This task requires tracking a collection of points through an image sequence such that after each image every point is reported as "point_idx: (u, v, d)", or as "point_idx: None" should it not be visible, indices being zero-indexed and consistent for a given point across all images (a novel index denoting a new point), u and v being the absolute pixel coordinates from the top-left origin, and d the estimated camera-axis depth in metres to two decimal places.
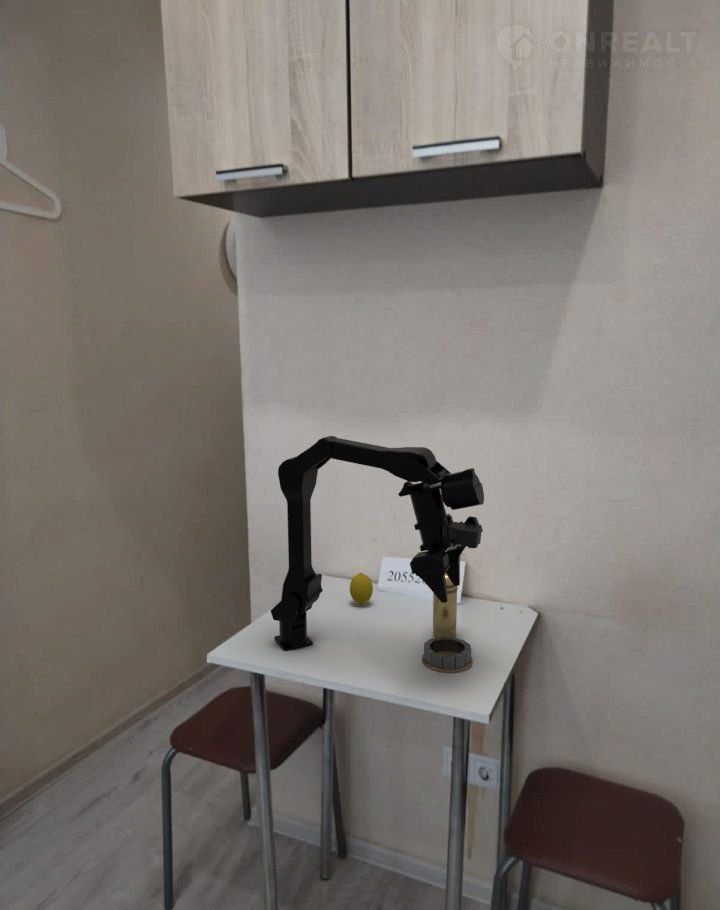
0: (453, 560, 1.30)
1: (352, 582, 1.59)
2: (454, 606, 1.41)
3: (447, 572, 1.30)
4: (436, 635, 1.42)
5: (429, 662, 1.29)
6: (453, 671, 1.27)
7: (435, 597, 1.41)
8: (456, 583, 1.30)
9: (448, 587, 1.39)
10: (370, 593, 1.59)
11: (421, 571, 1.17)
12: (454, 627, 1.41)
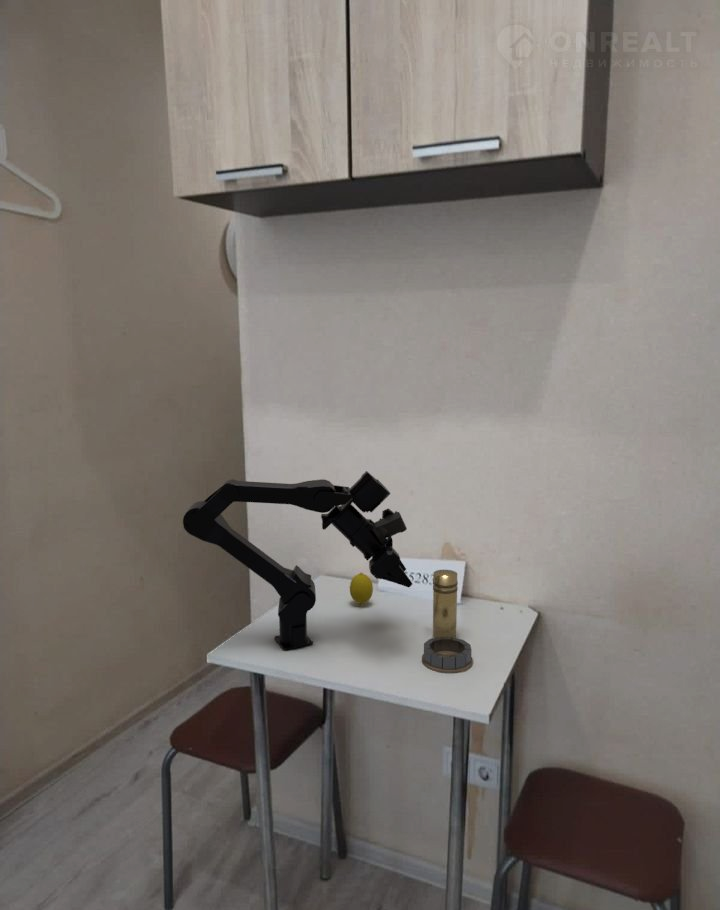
0: None
1: (352, 582, 1.59)
2: (454, 606, 1.41)
3: None
4: (436, 635, 1.42)
5: (429, 662, 1.29)
6: (453, 671, 1.27)
7: (435, 597, 1.41)
8: (403, 569, 1.45)
9: (448, 587, 1.39)
10: (370, 593, 1.59)
11: (383, 572, 1.30)
12: (454, 627, 1.41)
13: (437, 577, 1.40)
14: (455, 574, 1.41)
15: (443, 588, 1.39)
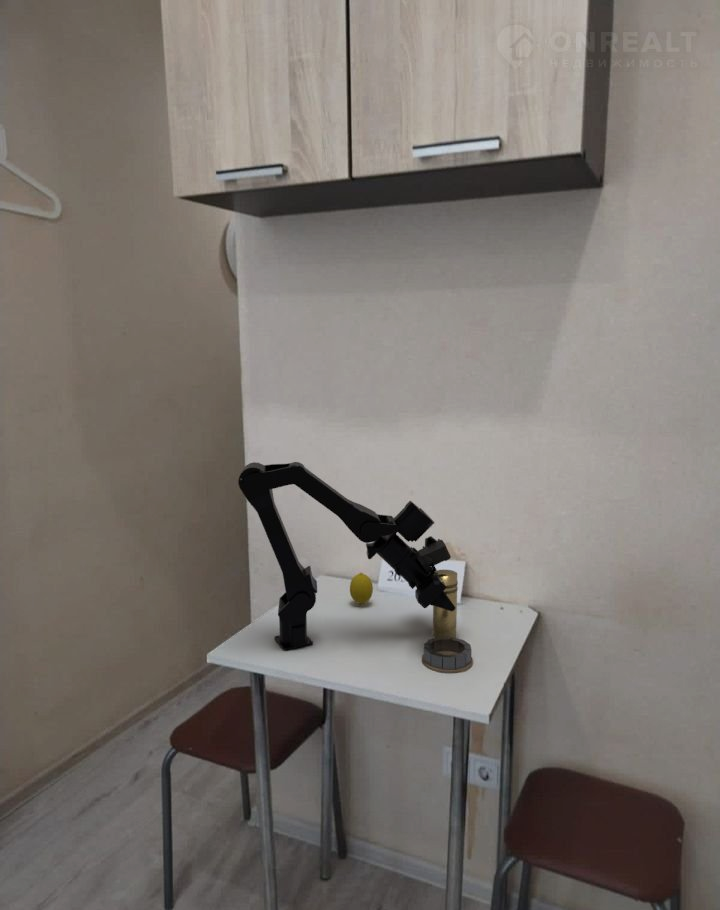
0: None
1: (352, 582, 1.59)
2: None
3: None
4: (436, 635, 1.42)
5: (429, 662, 1.29)
6: (453, 671, 1.27)
7: None
8: None
9: (448, 587, 1.39)
10: (370, 593, 1.59)
11: (431, 601, 1.32)
12: (454, 627, 1.41)
13: None
14: (455, 574, 1.41)
15: None
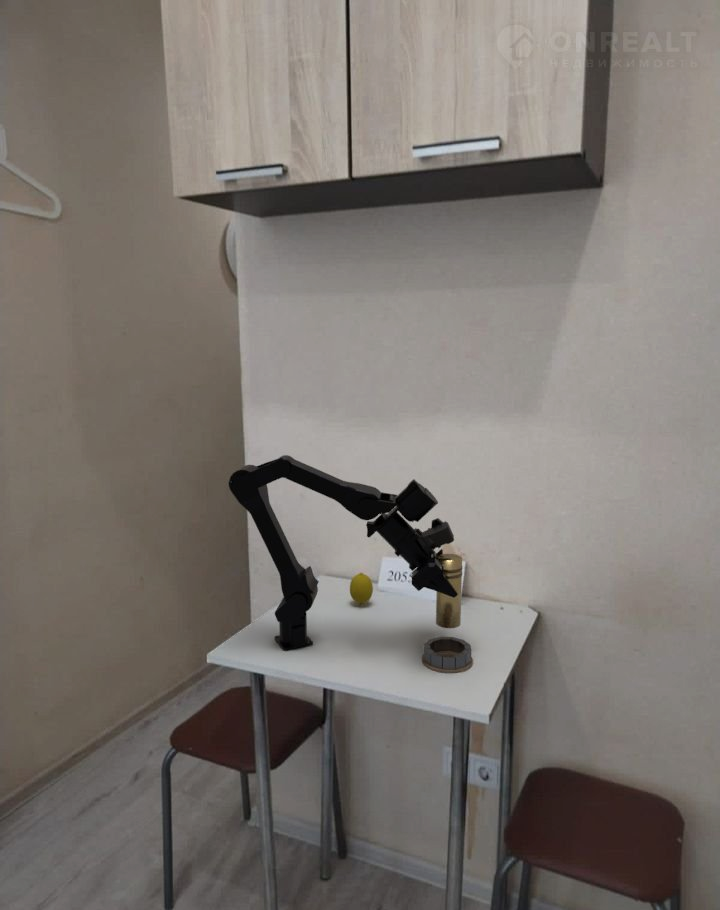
0: None
1: (352, 582, 1.59)
2: (457, 592, 1.34)
3: None
4: (438, 621, 1.35)
5: (429, 662, 1.29)
6: (453, 671, 1.27)
7: None
8: None
9: (450, 572, 1.32)
10: (370, 593, 1.59)
11: (425, 584, 1.26)
12: (457, 614, 1.34)
13: (439, 560, 1.33)
14: (459, 559, 1.33)
15: (445, 572, 1.33)
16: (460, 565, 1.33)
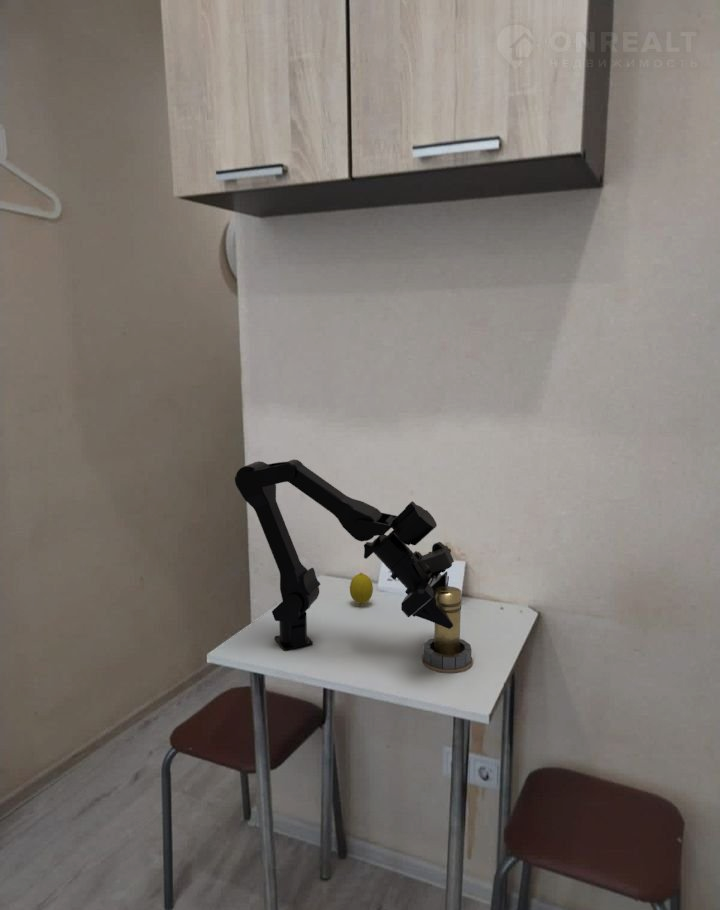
0: None
1: (352, 582, 1.59)
2: (454, 628, 1.29)
3: None
4: None
5: (429, 662, 1.29)
6: (453, 671, 1.27)
7: None
8: None
9: (446, 606, 1.28)
10: (370, 593, 1.59)
11: (414, 611, 1.22)
12: (454, 650, 1.29)
13: None
14: (457, 593, 1.28)
15: (441, 606, 1.28)
16: (458, 599, 1.28)
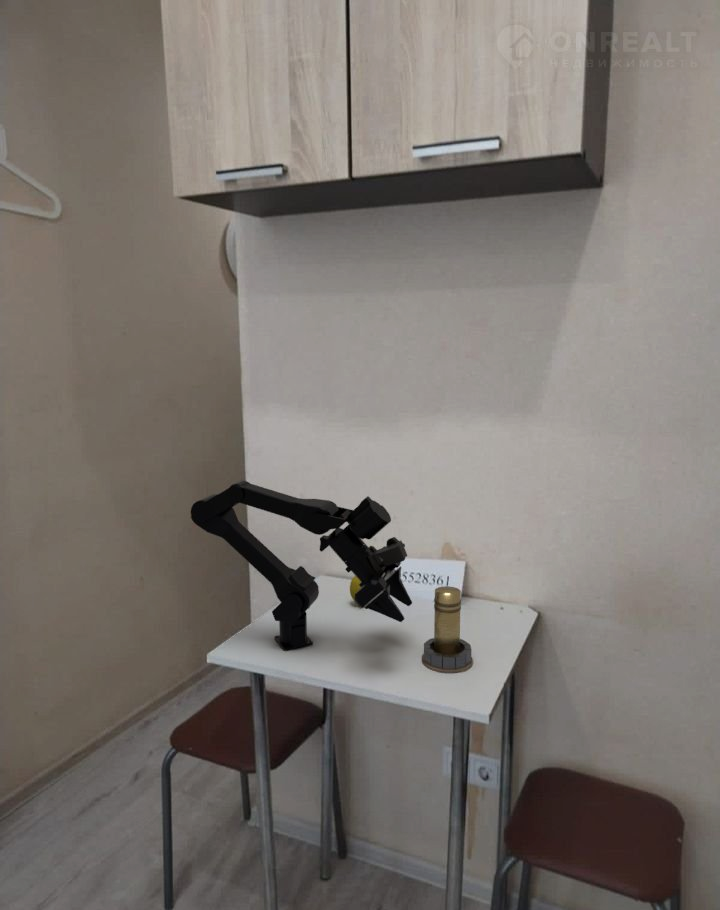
0: (396, 584, 1.38)
1: (352, 582, 1.59)
2: (454, 628, 1.29)
3: (396, 597, 1.38)
4: None
5: (429, 662, 1.29)
6: (453, 671, 1.27)
7: (435, 615, 1.30)
8: (408, 602, 1.37)
9: (446, 606, 1.28)
10: None
11: (367, 602, 1.25)
12: (454, 651, 1.29)
13: (436, 594, 1.29)
14: (457, 593, 1.28)
15: (441, 606, 1.28)
16: (457, 600, 1.28)
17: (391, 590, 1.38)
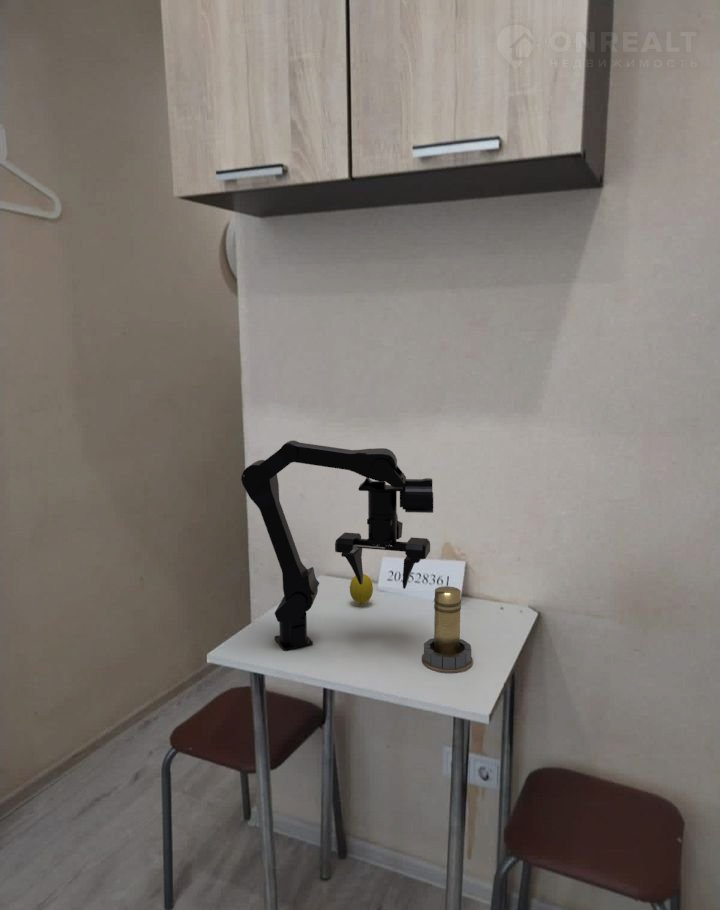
0: (360, 559, 1.38)
1: (352, 582, 1.59)
2: (454, 628, 1.29)
3: (359, 572, 1.37)
4: None
5: (429, 662, 1.29)
6: (453, 671, 1.27)
7: (435, 615, 1.30)
8: (362, 581, 1.38)
9: (446, 606, 1.28)
10: (370, 593, 1.59)
11: (426, 555, 1.32)
12: (454, 651, 1.29)
13: (436, 594, 1.29)
14: (457, 593, 1.28)
15: (441, 606, 1.28)
16: (457, 600, 1.28)
17: (358, 563, 1.37)
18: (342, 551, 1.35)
